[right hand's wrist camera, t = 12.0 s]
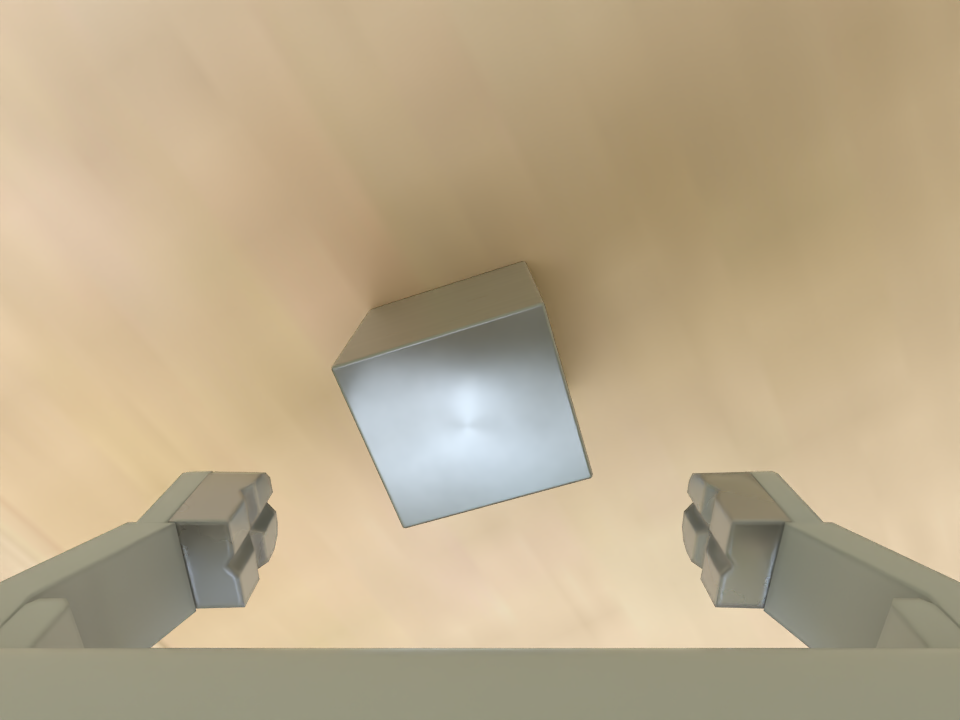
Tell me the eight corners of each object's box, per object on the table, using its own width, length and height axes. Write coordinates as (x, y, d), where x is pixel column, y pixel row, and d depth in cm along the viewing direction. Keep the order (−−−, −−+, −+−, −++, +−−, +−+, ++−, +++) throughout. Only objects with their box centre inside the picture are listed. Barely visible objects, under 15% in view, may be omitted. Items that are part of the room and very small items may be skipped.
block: (368, 309, 17) (329, 367, 12) (525, 259, 16) (543, 302, 12) (420, 437, 19) (403, 530, 14) (564, 395, 18) (594, 478, 13)
